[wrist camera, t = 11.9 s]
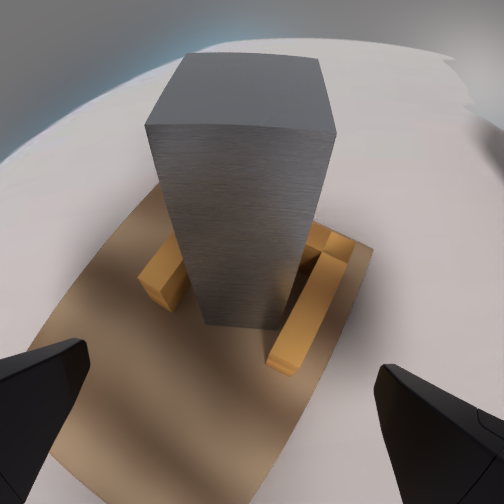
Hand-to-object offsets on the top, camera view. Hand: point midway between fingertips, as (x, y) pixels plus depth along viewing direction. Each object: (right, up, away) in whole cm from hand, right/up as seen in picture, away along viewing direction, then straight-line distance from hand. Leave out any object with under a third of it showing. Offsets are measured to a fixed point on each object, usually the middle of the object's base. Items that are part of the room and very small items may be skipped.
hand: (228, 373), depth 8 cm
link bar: (0, +1, +10) cm, 10 cm away
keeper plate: (-4, -2, +9) cm, 10 cm away
